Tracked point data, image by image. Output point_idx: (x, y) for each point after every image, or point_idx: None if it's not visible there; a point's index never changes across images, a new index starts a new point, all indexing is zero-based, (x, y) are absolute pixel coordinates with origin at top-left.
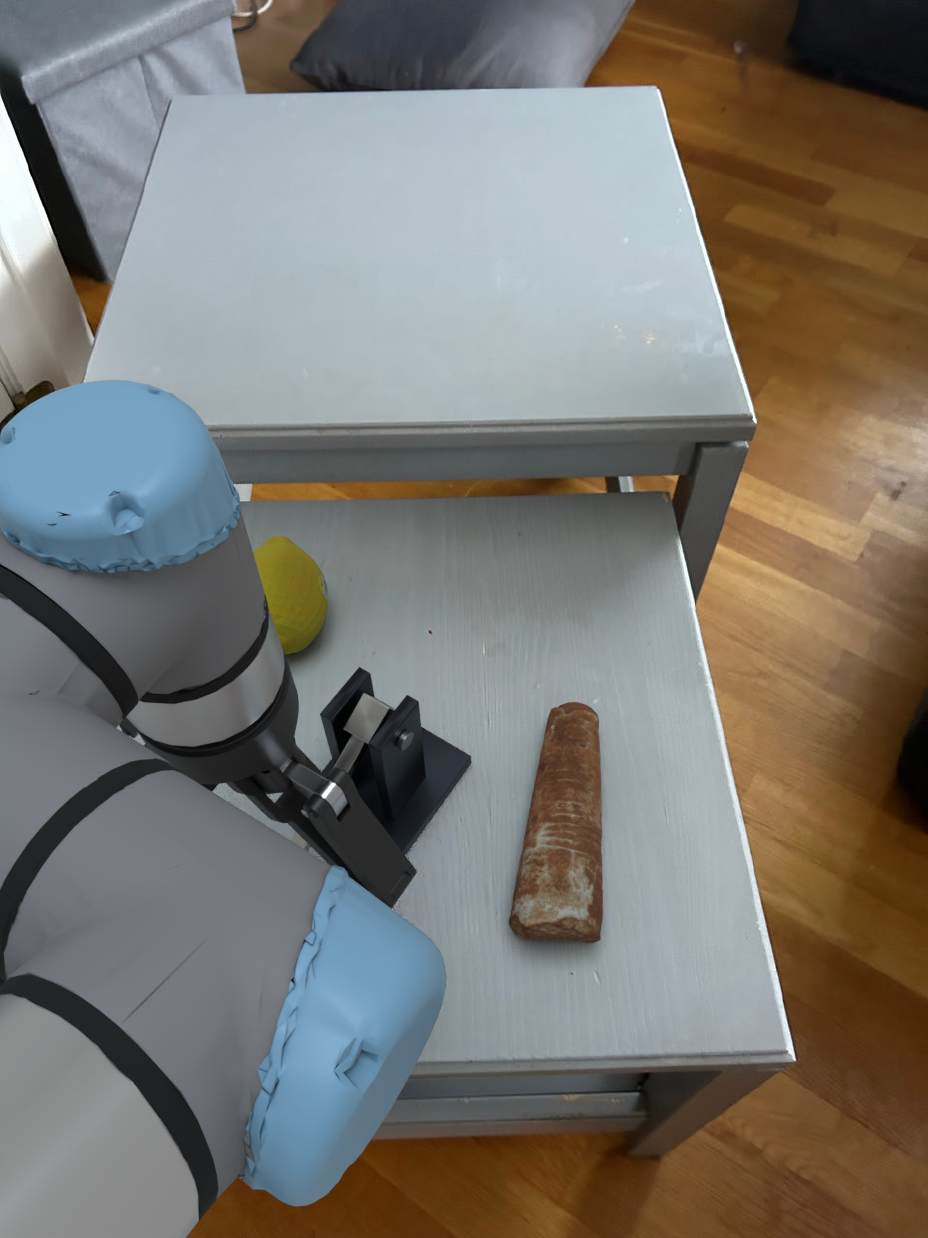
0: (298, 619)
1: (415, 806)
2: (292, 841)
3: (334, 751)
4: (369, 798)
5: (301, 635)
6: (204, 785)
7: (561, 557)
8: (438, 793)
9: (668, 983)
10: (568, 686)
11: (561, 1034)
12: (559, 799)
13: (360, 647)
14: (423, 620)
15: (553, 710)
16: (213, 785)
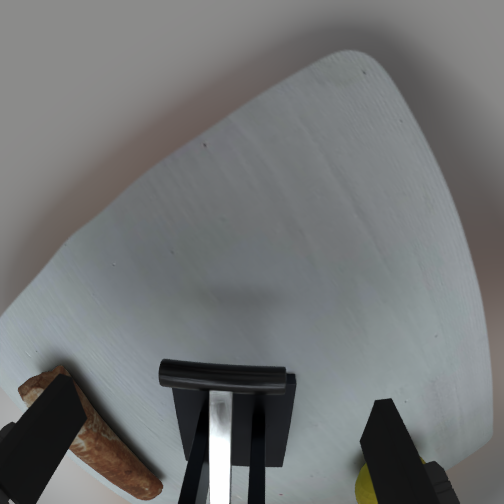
0: (370, 500)
1: (192, 425)
2: (229, 409)
3: (256, 484)
4: (233, 418)
5: (364, 487)
6: (375, 445)
7: None
8: (185, 436)
9: (9, 363)
10: (174, 492)
11: (16, 313)
12: (94, 463)
13: (324, 474)
14: (290, 496)
15: (156, 494)
16: (366, 437)
